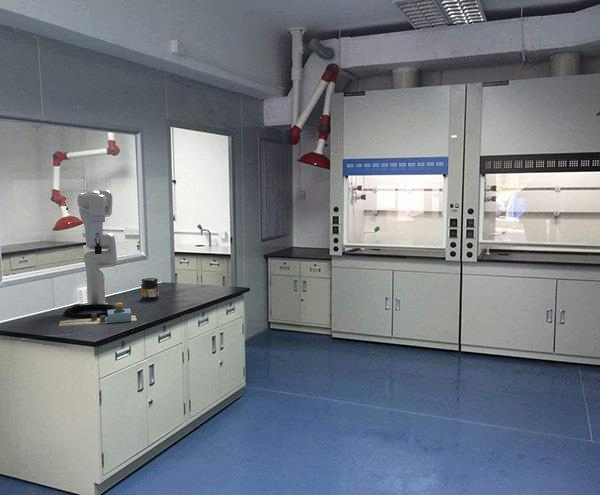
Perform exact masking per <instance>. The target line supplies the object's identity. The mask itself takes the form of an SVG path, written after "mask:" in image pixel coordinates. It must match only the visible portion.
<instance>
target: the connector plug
mask: <svg viewBox="0 0 600 495" xmlns="http://www.w3.org/2000/svg"><path fill="white" fill-rule="evenodd" d="M123 305H124V303H123V302H116V303H114V306H115V312H116V313H119V312H123V309H124V306H123Z"/></svg>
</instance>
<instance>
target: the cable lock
mask: <svg viewBox="0 0 600 495" xmlns="http://www.w3.org/2000/svg"><path fill="white" fill-rule="evenodd" d="M114 309H115V305H113V304H112V305H111V304H109V303H108V304H88V305H85V304H73V306H71V307H69V308H67V309H64V311H63V316H64V318H69V319H92V314H94V313H95V312H94V313H82V312H89V311H102V312H96V313H97V318H100V316H102V315H105V317H108V310H114ZM80 312H81V313H80Z"/></svg>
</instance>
